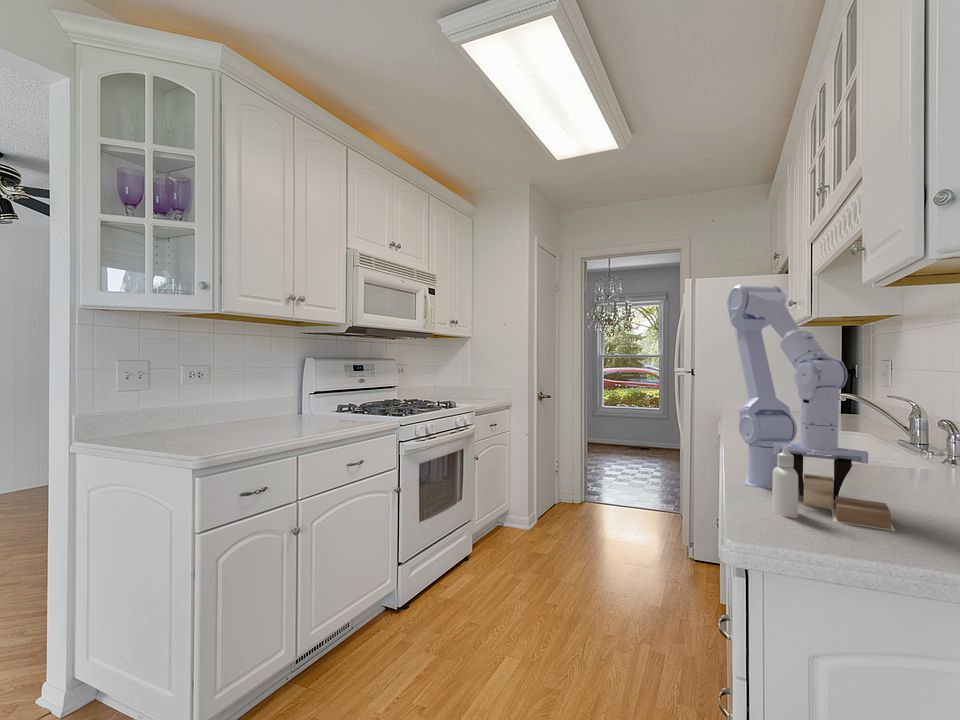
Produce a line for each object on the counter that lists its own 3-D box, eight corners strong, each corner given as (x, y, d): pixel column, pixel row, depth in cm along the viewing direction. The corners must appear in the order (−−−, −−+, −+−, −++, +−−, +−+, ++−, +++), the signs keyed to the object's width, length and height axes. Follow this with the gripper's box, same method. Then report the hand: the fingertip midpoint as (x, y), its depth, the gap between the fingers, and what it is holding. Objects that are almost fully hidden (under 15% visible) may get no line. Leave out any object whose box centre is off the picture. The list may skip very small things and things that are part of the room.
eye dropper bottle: (801, 514, 89) (803, 446, 89) (796, 521, 85) (797, 450, 85) (773, 508, 92) (775, 443, 92) (766, 516, 88) (768, 447, 88)
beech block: (803, 499, 97) (804, 473, 97) (832, 503, 94) (832, 476, 94) (803, 505, 93) (803, 478, 93) (833, 509, 91) (833, 481, 90)
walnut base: (835, 510, 90) (835, 496, 90) (885, 517, 86) (885, 503, 86) (837, 521, 84) (837, 506, 84) (890, 529, 80) (891, 513, 80)
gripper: (772, 423, 94) (771, 495, 94) (870, 430, 86) (869, 509, 86) (775, 419, 100) (773, 487, 100) (866, 425, 92) (865, 499, 92)
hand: (818, 496), depth 94 cm, fingers closed on beech block, 4 cm apart
